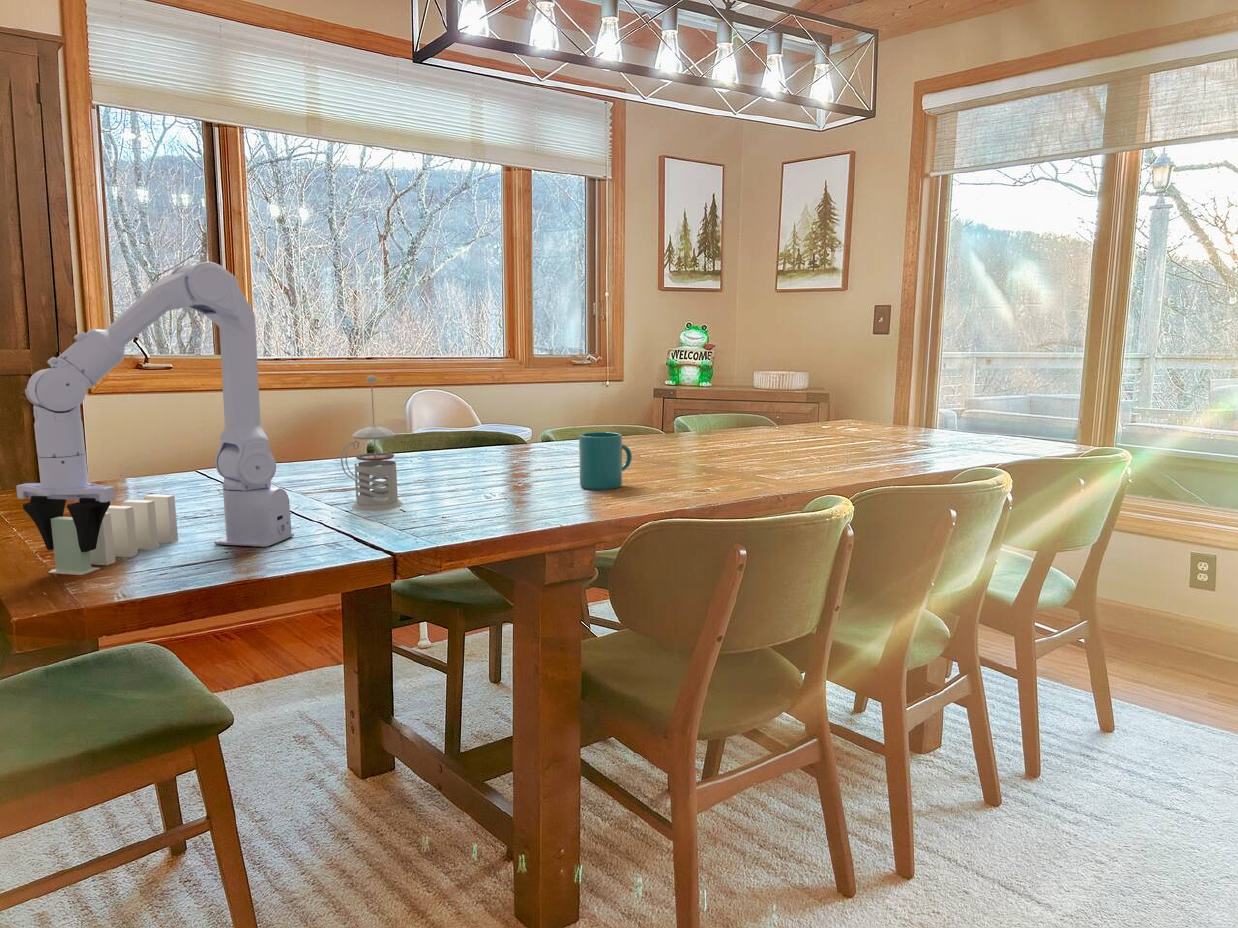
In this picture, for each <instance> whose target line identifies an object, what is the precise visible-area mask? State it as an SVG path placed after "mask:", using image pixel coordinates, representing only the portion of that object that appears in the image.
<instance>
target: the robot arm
mask: <svg viewBox="0 0 1238 928" xmlns="http://www.w3.org/2000/svg"><path fill="white" fill-rule="evenodd" d="M238 282H239V281H238V278H237V276H235V275H234V274H232V273H231V272H230V271H228V269H226V268H225V267H223V266H222V265H220V264H218V263H216V262H212V261H205V262H200V263H197V264H183V265H179V266H177V267H176V268H175V269H173V271H172V272H171V273H170V274H167V275H165V276H163V277H162V278H161V277H160V279H158V281H156V282H155V283H154V284H153V285H152V286H150V287H149V288H148V289H147V290H146V291H145V292H144V293H143V294H142V295H141V296H140V297H139V298H137V300H135V301H134V302H133V303H132V304H131V305H130V306H129V307H128V308H127V309H126V310H124V312H123V313H121V314H120V315H119V316H118V317H117V318H116V319H115V320H113V322H111V324H110V325H108V326H107V328H105V329H98V328H90V329H89V330H88V331H87V332H85V331H79V332H78V333H77V334H76V335H74V336H73V339H74V340H75V342H74V343H73V344H71V345H70V346H69V347H68V348H67V349H66V350H65V351H63V352H62V353H61V354H59V356H57V357H54V356H52V357H51V358H49V359H48V360H47V361H46V362H47V364H48V365H49V366H50V367H51V368H44V369H40V370H38V371H36V372H34V373H33V374H32V375H31V376H30V378H29V380H28V383H27V385H26V388H25V389H24V393H25V396H26V398H27V400H28V401H29V402H30V403H31V404H32V405H33V417H34V423H33V425H34V426H33V427H34V436H35V445H36V446H35V447H36V455H37V462H38V472H39V481H40V482H26V483H22V484H17V485H15V487H16V496H17V499H20V500H21V499H22V500H24V499H30V500H29V502H25V503H23V504H22V509H23V510H24V512H25V513H27V514H28V516H29V518H31V520H32V521H33V523H34V525H35V526H36V527H37V529H38V531H39V534H40V535H41V538H42V540H43V542H44V545H45V548H46V549H47V551H54V546H53V537H52V528H51V519H52V518H56V517H64V514H65V513H64V511H65V506H66V508H67V510H68V512H69V515H70V517H72V518H73V521H74V523H75V527H76V530H77V537H78V543H79V547H80V550H81V552H88V551H91V550H94V549H96V546H97V540H98V535H99V530H100V526H101V523H102V520H103V518H104V516H105V513H106V511H107V509H108V508H109V506H111V501H116V499H117V498H116V488H115V486H113V485H103V484H97V483H92V482H89V475H88V474H89V472H88V463H87V453H86V447H85V446H86V445H85V444H86V443H85V435H84V427H83V424H84V423H83V421H82V416H81V406H80V405H82V404H83V402H84V401H85V398H86V393H87V391H86V390H90V389H92V388H93V387H94V386H95V385H97V384H98V383H99V382H100V381H101V380H102V379H103V378H104V377H106V376H107V375H108V374H109V373H110V372H111V371H112V370H113V369H115V367H117V366H118V365H119V364H120V363H121V362H122V361H123V360H124V359H125V349H126V348H125V347H126V345H127V344H129V343H130V342H131V341H132V340H133V339H135V338H136V337H137V336H138V335H140V334H142V332H144V330H146V329H147V328H148V327H150V326H151V325H152V324H154V323H155V322H156V321H158V319H159V318H161V317H162V316H163V315H165V314H166V313H167V312H169V311H173V310H174V311H175V310H179V309H183V308H190V309H192V310H196V311H197V312H199V313H201V314H202V315H204V316H205V317H206V318H208V319H209V320H210V321H211V322H213V323H214V324H215V325H216V326H217V327H218V329H219V344H220V346H219V347H220V348H219V349H220V361H221V378H222V379H221V380H222V397H223V398H222V399H223V413H224V415H223V416H224V428H223V429H222V432H221V434H220V437H219V442H220V443H219V448H218V452H217V453H216V455H215V459H214V460H215V461H214V462H215V468H216V471H217V473H218V474H219V475H220V476H221V477H222V478H223V483H222V492H223V493H222V495H223V507H224V509H223V510H224V520H225V532H226V533H225V534H226V536H225V537H222V538H220V539H217V540H214V544H215V545H225V546H226V545H227V546H245V547H246V546H247V547H261V548H265V547H269V546H271V545H275V544H277V543H279V542H282V541H285V540H287V539H289V538H291V537H294V536H295V532H292V523H291V522H292V520H291V509H290V508H291V505H290V504H291V503H290V498H289V495H288V493H287V491H286V490H285V489H283V488H279V487H274V486H273V485H272V480H273V478H274V477H275V474H276V473H277V462H276V459H275V457H274V455H273V453H272V452H271V451H272V450H271V447H270V439H269V437H268V436H267V434H266V433H265V431H264V429H263V428H262V425H261V424H262V422H261V406H260V402H261V401H260V389H259V388H260V387H259V369H258V368H259V366H258V351H257V349H258V348H257V346H258V345H257V344H258V343H257V329H256V328H257V327H256V315H255V312H254V310H253V308H252V307H251V305H250V303H249V301H248V300H247V298H246V297H245V295H244V293H243V292H242V290H241V288H240V287H239V284H238ZM68 500H70V501H78V502H73V503H70V504H69V503H68V504H67V505H66V502H67V501H68Z"/></svg>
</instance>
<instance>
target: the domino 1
mask: <svg viewBox="0 0 1238 928" xmlns="http://www.w3.org/2000/svg"><path fill="white" fill-rule="evenodd" d="M51 528H52V537H53V546H54V550H53V554H54V563H55V569H56V570H57V571H74V572H84V571H87V570H90V569H92V568H91V567H92V564H91V559H90V551H88V552H81V550H80V547H79V543H78V537H77V530H76V527H75V523H74V521H73V518H72V516H63V517H56V518H52V519H51Z"/></svg>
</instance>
